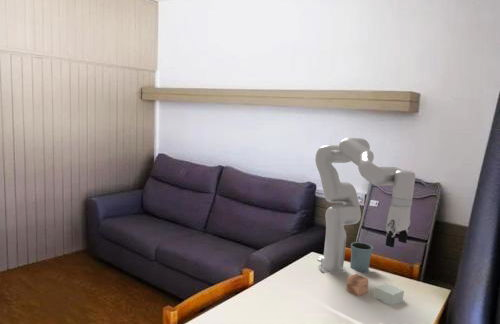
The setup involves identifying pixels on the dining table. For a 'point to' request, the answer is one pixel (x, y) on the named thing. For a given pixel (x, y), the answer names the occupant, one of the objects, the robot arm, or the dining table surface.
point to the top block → (357, 284)
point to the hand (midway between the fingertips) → (396, 244)
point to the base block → (388, 293)
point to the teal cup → (360, 256)
